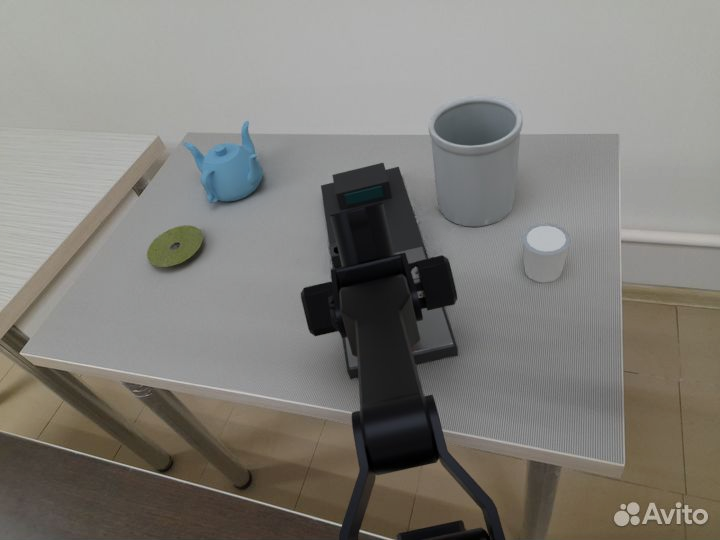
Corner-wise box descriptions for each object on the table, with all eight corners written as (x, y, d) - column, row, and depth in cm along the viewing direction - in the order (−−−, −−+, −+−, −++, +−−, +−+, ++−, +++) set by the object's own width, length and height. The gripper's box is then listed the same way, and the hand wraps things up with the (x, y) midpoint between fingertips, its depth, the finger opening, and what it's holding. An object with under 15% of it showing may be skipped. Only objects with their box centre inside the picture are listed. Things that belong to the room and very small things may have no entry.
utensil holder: (525, 180, 98) (530, 95, 85) (510, 235, 89) (512, 149, 76) (448, 173, 103) (442, 92, 91) (427, 224, 95) (416, 143, 82)
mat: (152, 242, 107) (147, 235, 105) (205, 225, 107) (201, 218, 105) (150, 280, 99) (145, 273, 97) (207, 262, 99) (203, 255, 98)
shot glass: (518, 283, 82) (519, 252, 77) (522, 251, 86) (524, 220, 81) (565, 288, 80) (569, 256, 75) (567, 255, 84) (571, 223, 79)
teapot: (207, 217, 109) (186, 178, 101) (201, 177, 119) (181, 139, 112) (274, 194, 110) (258, 153, 102) (262, 156, 120) (247, 117, 113)
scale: (458, 355, 75) (455, 329, 71) (350, 379, 76) (340, 355, 71) (400, 176, 106) (395, 149, 101) (323, 194, 106) (315, 169, 102)
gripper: (444, 210, 57) (430, 219, 73) (280, 249, 58) (301, 250, 74) (467, 309, 57) (448, 297, 73) (303, 346, 58) (319, 326, 74)
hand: (378, 290), depth 73 cm, fingers closed on cup, 7 cm apart
